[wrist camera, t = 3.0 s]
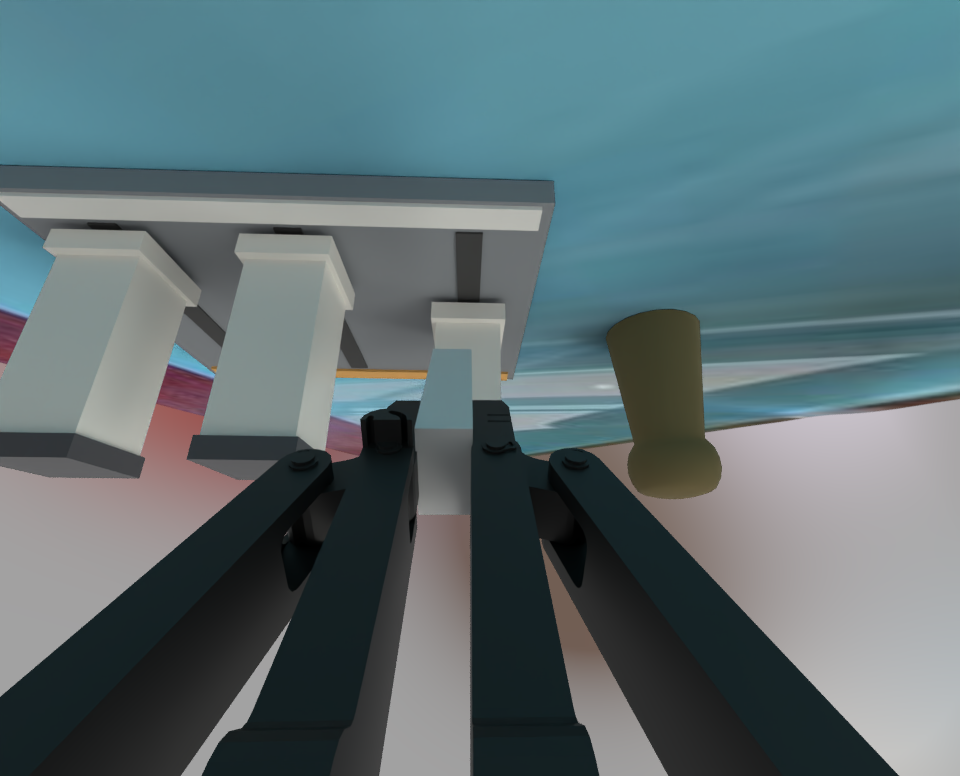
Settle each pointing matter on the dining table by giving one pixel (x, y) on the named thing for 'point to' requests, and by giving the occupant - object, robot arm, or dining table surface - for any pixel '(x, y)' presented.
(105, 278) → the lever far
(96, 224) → the panel
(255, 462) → the lever mid
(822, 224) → the dining table surface
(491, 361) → the lever
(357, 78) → the dining table surface
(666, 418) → the cork
